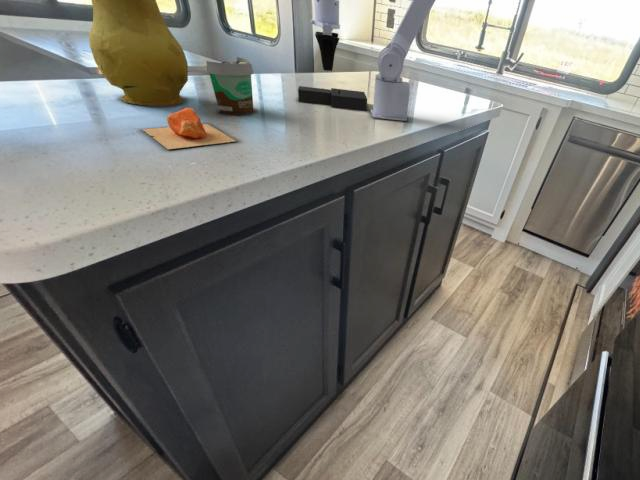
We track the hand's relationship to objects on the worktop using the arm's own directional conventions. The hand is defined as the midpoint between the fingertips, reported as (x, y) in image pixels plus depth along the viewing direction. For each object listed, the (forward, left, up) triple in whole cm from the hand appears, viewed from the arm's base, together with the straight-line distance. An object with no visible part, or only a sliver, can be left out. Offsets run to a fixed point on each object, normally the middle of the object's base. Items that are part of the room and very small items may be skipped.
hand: (327, 68), depth 87 cm
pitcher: (+40, +8, -10) cm, 42 cm away
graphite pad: (-6, -7, -9) cm, 13 cm away
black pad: (+2, -7, -9) cm, 12 cm away
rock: (+26, +33, -10) cm, 43 cm away
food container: (+20, +12, -10) cm, 25 cm away
